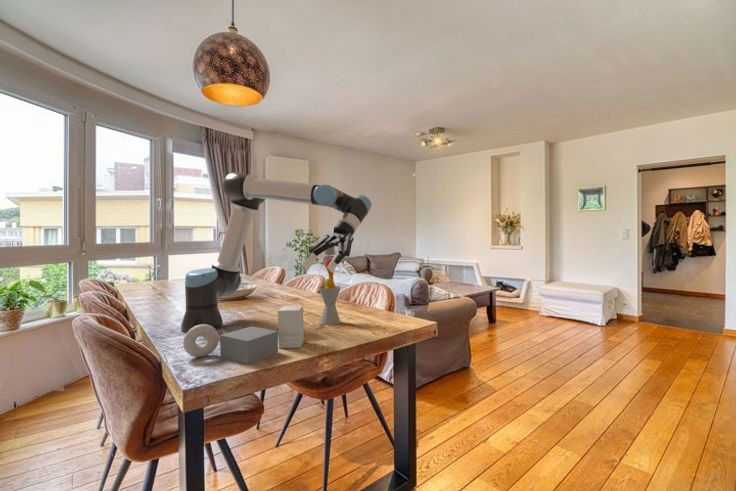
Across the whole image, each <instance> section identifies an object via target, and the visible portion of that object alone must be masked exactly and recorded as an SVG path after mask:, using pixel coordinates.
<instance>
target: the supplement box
mask: <svg viewBox="0 0 736 491" xmlns="http://www.w3.org/2000/svg"><path fill="white" fill-rule="evenodd" d="M303 310H304V306H303V305H283V306H282V307H280V308H279V309H278V310H277V323H278V325H277V329H278V349H292V348H293V349H294V348H295V349H296V348H297V349H298V348H299V349H300V348H301V347H302V345H303V344H304V343H305V342H304V341H305V337H304V336H305V335H304V334H305V331H304V330H305V329H304V328H305V327H304V325H305V324H304V312H303Z"/></svg>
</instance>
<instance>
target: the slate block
mask: <svg viewBox="0 0 736 491" xmlns="http://www.w3.org/2000/svg"><path fill="white" fill-rule="evenodd" d="M219 342H220V343H219V344H220V346H219V347H220V350H219V354H220V358H222V359H225V360H230V361H233V362H237V363H240V364H244V365H249V364H252V363H255V362H257V360H258V361H260V360H262V359H261V358H263V359H265V358H267V357H266V356H268V357H270V356H272V355H271V354H273V355H275V354H277V353H276V352H278V353H279V337H278V331H277V330H274V329H273V330H272V329H268V328H263V327H257V326H249V327H245V328H244V327H243V328H241V329H238V330H234V331H230V332H227V333H223V334H220V335H219ZM274 353H275V354H274ZM269 355H270V356H269ZM264 357H265V358H264ZM259 359H260V360H259Z"/></svg>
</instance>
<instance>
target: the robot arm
mask: <svg viewBox="0 0 736 491" xmlns="http://www.w3.org/2000/svg"><path fill="white" fill-rule="evenodd" d="M222 191H223V193H224V195H225V196H226V197H227V198H228V199H230V205H231V207H232V209H231V213H230V216H229V218H228V223H227V227H226V230H225V234H224V236H223V240H222V244H221V247H220V251H219V254H218V258H217V260H216V261H214V262H212V264H211V267H210V268H209V267H208V268H207V267H205V268H197V269H193V270H190V271H188V272H187V273H186V274H185V277H184V278H185V279H184V285H185V286H184V287H185V288H184V289H185V290H184V291H185V292H184V294H185V295H184V296H185V311H184V315H183V318H182V320H181V324H180V330H181V332H183V333H187V332H188V331H189V330H190V329H191V328H193V327H194V326H197V325H200V324H207V325H210V326H212V327H213V328H215V329H216V331H217V330H219V329H222V328H223V327H224V321H223V318H222V315H221V312H220V309H219V302H218V301H219V298H223V297H226V296H227V297H228V296H231V295H233V293H235V292H237V291H238V289H240V287H241V285H242V276H241V273H240V272H241V268H240V266H239V263H240V259H241V255H242V252H243V249H244V246H245V242H246V239H247V236H248V231H249V229H250V224H251V222H252V218H253V215H254V213H256V212H258V211H259V207H260V206H261V205H260V204H262V203H264V202H265V200H271V201H281V202H289V203H297V204H306V205H314V206H322V207H328V208H332V209H334V210H337V211H338V212H340V213H342V214H343V215H342V216H341V218H339V220H338V222H337V223H336V224H335V226H334V227H333V233H332V234H331V235H330V234H326V235H324V237H323V238H322V239H321V240H319V242H317V243H316V244H315V245H314V246H312V247H311V248H310V249H309V250H308V252H309V253H310V254H309V256H308V257H307V259H306V260H305V261H304V263H302V267H303V268H304V269H305V270H306V271H309V270H310V269H311V267H312V265H313V264H314V263H315V261H316V260H317V258H318V256H319V255H321V254H322V253H324V251H325V250H327V249H328V248H332V247H333V246H334V247H337V248H338V251H337V252H335V255H333V257H332V259H331V260H332V261H331V262H330V263H329V265H328V266H327V268H328V269H329V270H330V272H333V271H334V272H335V270H336V268H337V266H338V265H339V264H340V263H341V262H342V260H343V259H344V258H348V257H350V255H351V250H352V245H353V241H354V240H355V238H354V234H355V232H357V229H358V228H359V226H360V225H361V224H362V222H363V220H364V219H365V218H366V216H368V214H369V212H370V209H371V208H372V201H371V199H369V197H367V196H366V195H364V194H363V195H362V194H359V195H357V196H356V197H354V196H351V195H349V194H347V193H345V192H344V191H341V190H340V189H338V188H336V187H333V186H332V185H329V184H314V183H303V182H296V181H287V180H278V179H269V178H261V177H260V178H259V177H257V176H254V175H253V174H247V173H244V172H240V171H234V172H230V173H228V174H227V175H226V176H225V177H224V179H223V181H222ZM329 242H330V243H329ZM330 244H331V245H330ZM334 272H333V273H334Z"/></svg>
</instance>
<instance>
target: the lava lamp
mask: <svg viewBox="0 0 736 491" xmlns="http://www.w3.org/2000/svg"><path fill="white" fill-rule="evenodd" d="M329 243H330V242H329ZM330 245H331V244H330ZM335 249H336V248H335V246H333V247H332V248H328V249H327V250H325V251H324V252H323V255H324V256H335V255H336V250H335ZM331 261H332V259H330V258H329V259H327V260H326V261H325V262H324V268H326V271H327V273H328V278H326V279H325V281H324V284H325V285H323V286H319V291H320V292H319V293H320V295H321V297H322V300H323V303H324V307H323V311H322V315H321V319H320V322H319V324H320V323H321V325H324V326H333V325H334V326H335V325H339V324H340V323H341V318H340V316H339V313H338V309H337V307H336V303H337V300H338V297H339V294H340V291H341V286H340V285H336V284H335V282H334V272H335V270H334V271H333V272H330V270H329V269H328V268H327V266H328V265H329V263H330V262H331Z"/></svg>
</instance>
